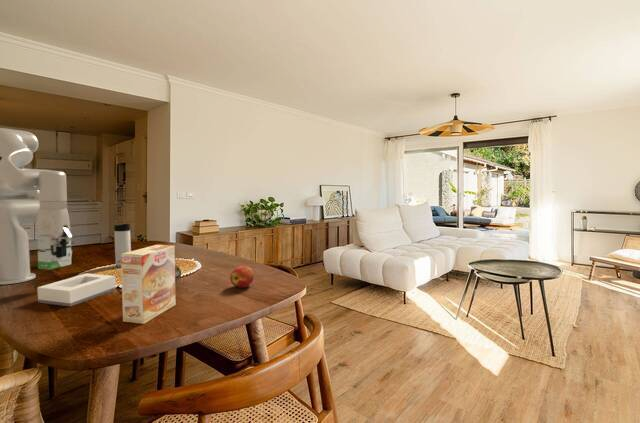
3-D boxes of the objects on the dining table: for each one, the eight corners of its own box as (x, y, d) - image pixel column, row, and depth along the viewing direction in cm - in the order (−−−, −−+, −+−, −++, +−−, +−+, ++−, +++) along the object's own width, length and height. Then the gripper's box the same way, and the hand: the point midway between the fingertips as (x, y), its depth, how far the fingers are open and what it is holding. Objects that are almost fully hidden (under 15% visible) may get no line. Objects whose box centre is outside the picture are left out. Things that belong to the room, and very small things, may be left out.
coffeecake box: (144, 324, 90) (142, 255, 88) (121, 322, 91) (119, 253, 89) (177, 304, 104) (175, 245, 103) (157, 303, 105) (155, 244, 104)
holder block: (38, 302, 104) (37, 287, 104) (87, 286, 121) (86, 273, 120) (70, 306, 101) (69, 290, 101) (116, 289, 118) (115, 276, 117)
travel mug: (120, 268, 147) (118, 224, 145) (113, 266, 150) (111, 223, 148) (134, 265, 152) (133, 223, 150) (126, 263, 155) (125, 222, 154)
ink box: (48, 270, 112) (47, 236, 111) (37, 268, 113) (35, 235, 112) (72, 264, 120) (71, 232, 119) (61, 262, 121) (60, 231, 120)
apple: (226, 288, 121) (226, 267, 121) (242, 282, 129) (242, 262, 128) (243, 291, 118) (243, 270, 117) (258, 285, 125) (258, 265, 124)
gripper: (23, 204, 113) (25, 256, 114) (62, 208, 109) (63, 261, 111) (45, 203, 120) (47, 251, 122) (83, 206, 116) (84, 256, 118)
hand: (55, 255), depth 116 cm, fingers closed on ink box, 5 cm apart
